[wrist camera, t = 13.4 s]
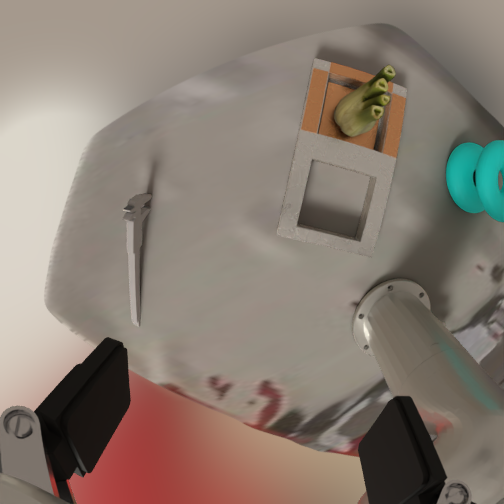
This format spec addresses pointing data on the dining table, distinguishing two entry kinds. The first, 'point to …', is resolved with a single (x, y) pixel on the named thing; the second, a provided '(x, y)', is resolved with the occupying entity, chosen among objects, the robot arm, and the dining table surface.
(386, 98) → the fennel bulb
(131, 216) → the caliper
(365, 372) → the dining table surface
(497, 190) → the donuts
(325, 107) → the orange and grey tray
